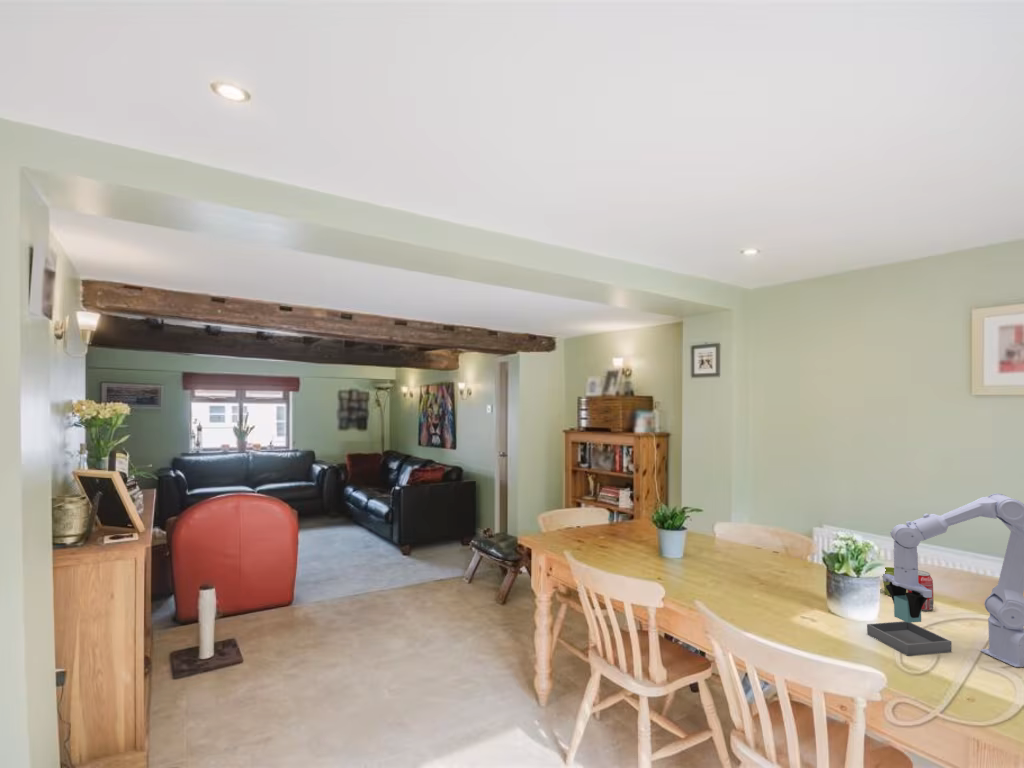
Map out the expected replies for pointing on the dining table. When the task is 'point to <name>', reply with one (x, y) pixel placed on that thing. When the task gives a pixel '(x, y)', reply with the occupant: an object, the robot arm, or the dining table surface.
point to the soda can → (927, 582)
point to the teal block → (903, 609)
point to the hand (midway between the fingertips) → (907, 613)
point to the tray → (909, 638)
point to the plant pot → (888, 571)
